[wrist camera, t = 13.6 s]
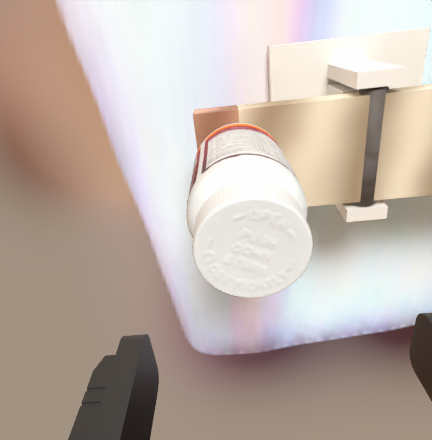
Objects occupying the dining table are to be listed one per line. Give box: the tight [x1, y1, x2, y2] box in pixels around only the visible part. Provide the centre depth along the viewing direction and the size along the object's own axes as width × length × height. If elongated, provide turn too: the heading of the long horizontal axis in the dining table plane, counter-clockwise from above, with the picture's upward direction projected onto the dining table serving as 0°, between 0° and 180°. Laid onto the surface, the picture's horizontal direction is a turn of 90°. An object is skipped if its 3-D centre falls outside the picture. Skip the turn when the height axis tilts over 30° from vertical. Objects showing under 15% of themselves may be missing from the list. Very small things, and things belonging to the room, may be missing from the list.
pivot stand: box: [268, 28, 430, 222], centre depth 27 cm, size 12×14×8 cm
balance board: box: [193, 84, 432, 207], centre depth 25 cm, size 24×8×2 cm, turn 96°
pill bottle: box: [187, 123, 313, 298], centre depth 20 cm, size 6×6×11 cm
